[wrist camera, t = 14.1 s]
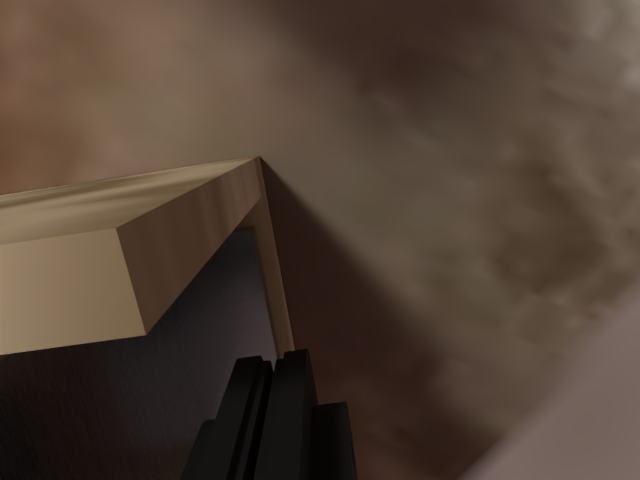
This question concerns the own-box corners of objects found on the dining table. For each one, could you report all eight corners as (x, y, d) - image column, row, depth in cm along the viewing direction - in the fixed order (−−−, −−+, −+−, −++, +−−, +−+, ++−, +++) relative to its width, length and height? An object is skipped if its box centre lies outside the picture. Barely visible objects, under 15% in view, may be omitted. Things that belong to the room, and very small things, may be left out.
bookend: (254, 225, 13) (125, 419, 5) (292, 417, 15) (251, 818, 6) (142, 242, 13) (-191, 460, 5) (192, 429, 15) (18, 839, 6)
